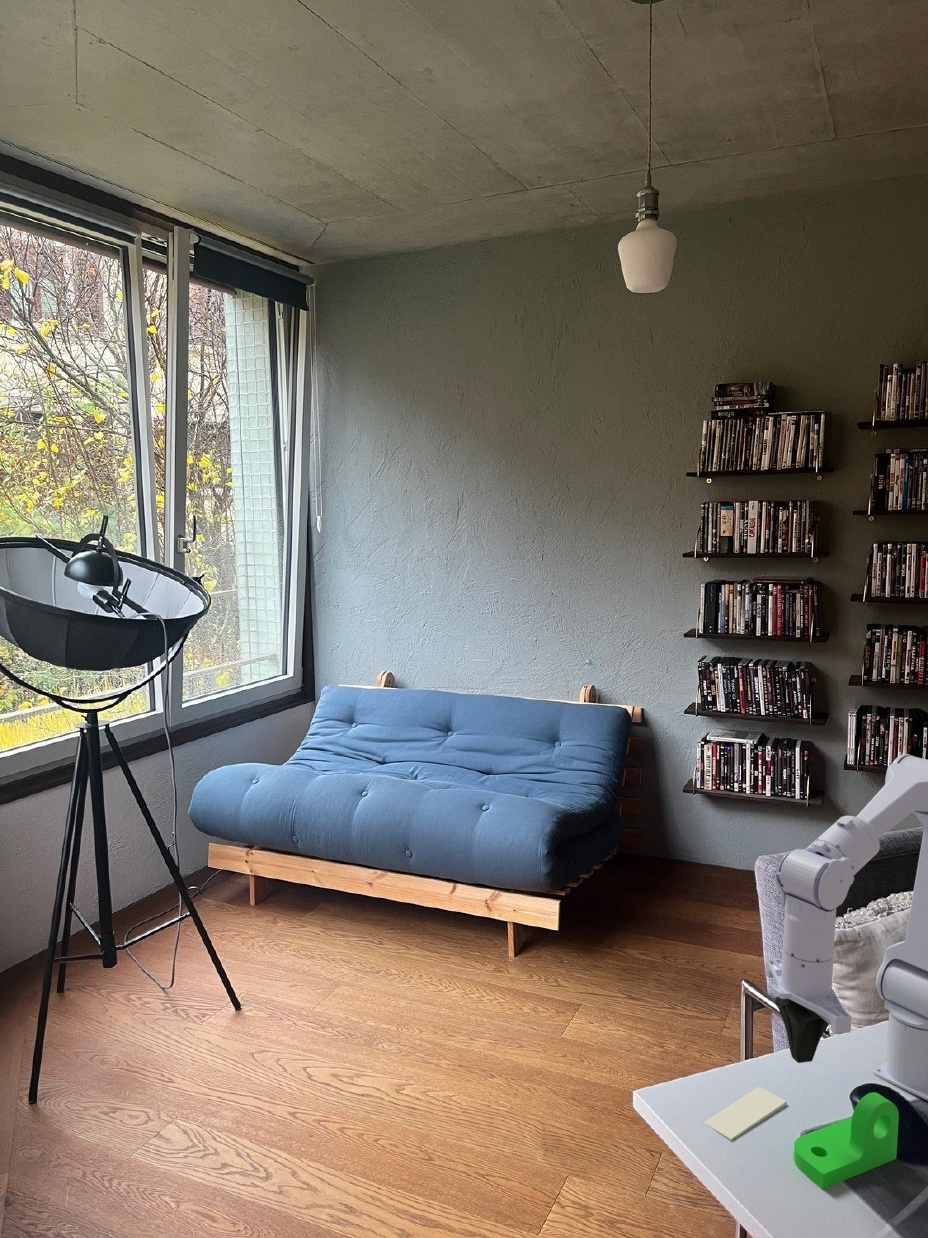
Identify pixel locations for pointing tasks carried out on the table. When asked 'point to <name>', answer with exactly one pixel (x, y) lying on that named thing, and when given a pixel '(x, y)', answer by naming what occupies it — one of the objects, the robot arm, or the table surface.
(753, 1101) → the plate
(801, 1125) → the table surface
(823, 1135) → the mechanical part
